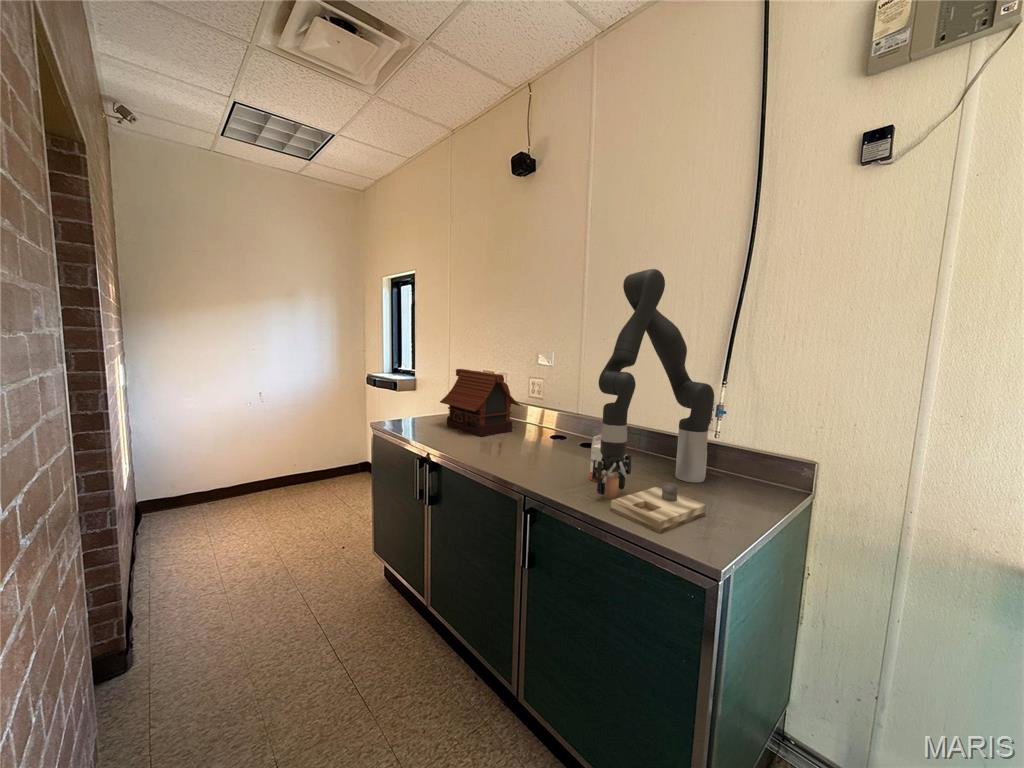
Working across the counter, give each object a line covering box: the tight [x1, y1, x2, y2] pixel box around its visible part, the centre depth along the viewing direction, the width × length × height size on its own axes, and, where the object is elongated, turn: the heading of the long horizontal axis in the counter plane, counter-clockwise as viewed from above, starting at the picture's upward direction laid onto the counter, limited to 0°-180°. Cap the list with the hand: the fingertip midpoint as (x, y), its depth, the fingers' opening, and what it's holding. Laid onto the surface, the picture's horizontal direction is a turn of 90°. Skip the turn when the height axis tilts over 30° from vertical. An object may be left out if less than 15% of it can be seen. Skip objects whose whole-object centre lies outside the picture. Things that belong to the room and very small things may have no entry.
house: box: [439, 368, 521, 438], centre depth 215 cm, size 35×28×29 cm
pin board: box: [610, 482, 707, 534], centre depth 118 cm, size 20×16×7 cm
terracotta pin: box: [603, 475, 619, 500], centre depth 129 cm, size 4×4×6 cm
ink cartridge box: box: [589, 434, 615, 482], centre depth 145 cm, size 9×5×15 cm, turn 141°
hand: (611, 491), depth 129 cm, fingers open, 8 cm apart
